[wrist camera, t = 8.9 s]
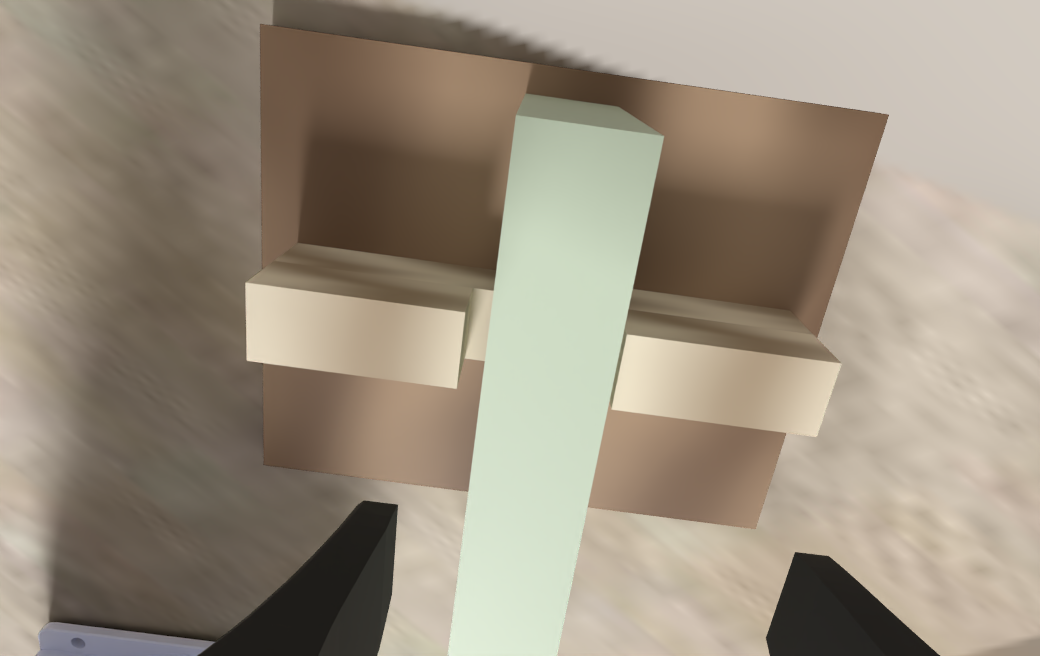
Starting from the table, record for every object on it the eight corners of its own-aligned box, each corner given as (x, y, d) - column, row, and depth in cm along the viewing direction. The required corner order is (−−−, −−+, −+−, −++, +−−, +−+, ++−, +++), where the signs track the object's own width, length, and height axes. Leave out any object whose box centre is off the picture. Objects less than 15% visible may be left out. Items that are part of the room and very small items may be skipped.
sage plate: (548, 494, 22) (551, 680, 15) (474, 485, 22) (446, 667, 15) (618, 106, 17) (664, 136, 11) (525, 93, 17) (516, 114, 11)
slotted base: (272, 451, 22) (212, 538, 18) (271, 25, 18) (190, 15, 14) (748, 513, 23) (793, 612, 19) (874, 112, 18) (972, 128, 14)
